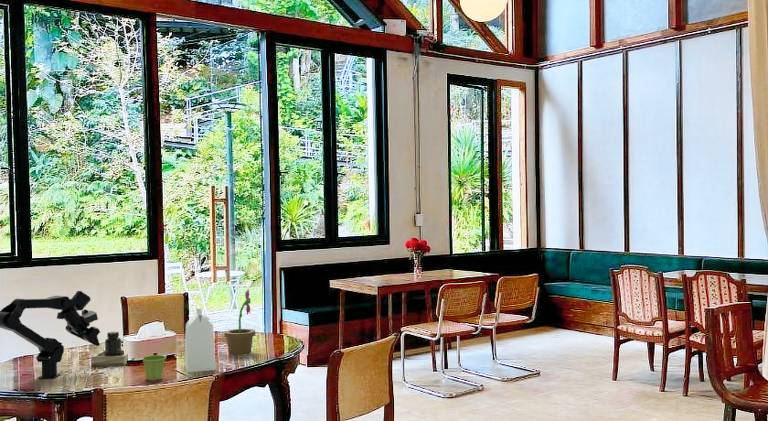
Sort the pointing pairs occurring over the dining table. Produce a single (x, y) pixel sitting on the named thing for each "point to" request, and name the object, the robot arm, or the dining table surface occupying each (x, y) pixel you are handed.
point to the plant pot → (154, 366)
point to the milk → (199, 344)
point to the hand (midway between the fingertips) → (92, 342)
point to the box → (109, 359)
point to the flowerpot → (240, 334)
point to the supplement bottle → (113, 344)
